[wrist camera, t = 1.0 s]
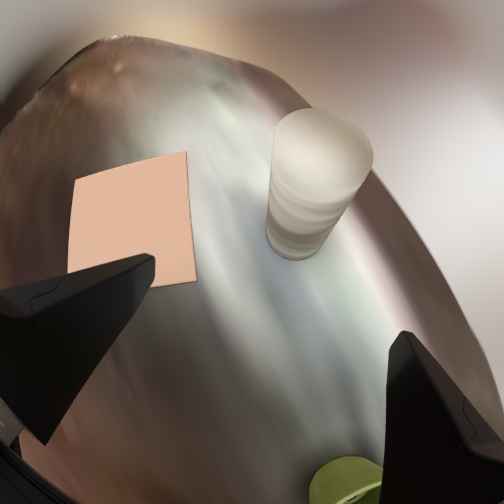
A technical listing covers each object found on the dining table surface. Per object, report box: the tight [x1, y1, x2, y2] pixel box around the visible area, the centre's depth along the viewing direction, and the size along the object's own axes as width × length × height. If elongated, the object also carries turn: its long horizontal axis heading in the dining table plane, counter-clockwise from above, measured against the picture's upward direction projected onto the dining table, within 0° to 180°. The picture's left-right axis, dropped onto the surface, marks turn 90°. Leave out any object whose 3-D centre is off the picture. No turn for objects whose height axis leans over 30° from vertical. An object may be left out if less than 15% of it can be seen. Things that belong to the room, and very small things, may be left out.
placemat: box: [68, 151, 197, 288], centre depth 25 cm, size 13×13×1 cm
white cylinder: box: [266, 108, 373, 260], centre depth 18 cm, size 5×5×12 cm
